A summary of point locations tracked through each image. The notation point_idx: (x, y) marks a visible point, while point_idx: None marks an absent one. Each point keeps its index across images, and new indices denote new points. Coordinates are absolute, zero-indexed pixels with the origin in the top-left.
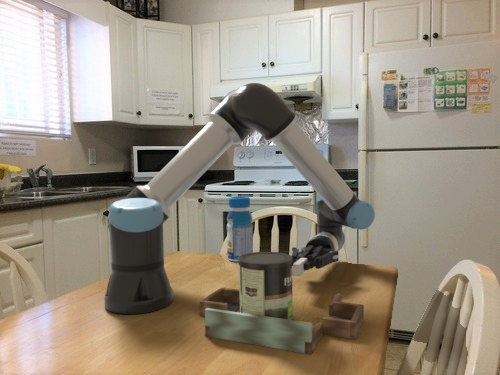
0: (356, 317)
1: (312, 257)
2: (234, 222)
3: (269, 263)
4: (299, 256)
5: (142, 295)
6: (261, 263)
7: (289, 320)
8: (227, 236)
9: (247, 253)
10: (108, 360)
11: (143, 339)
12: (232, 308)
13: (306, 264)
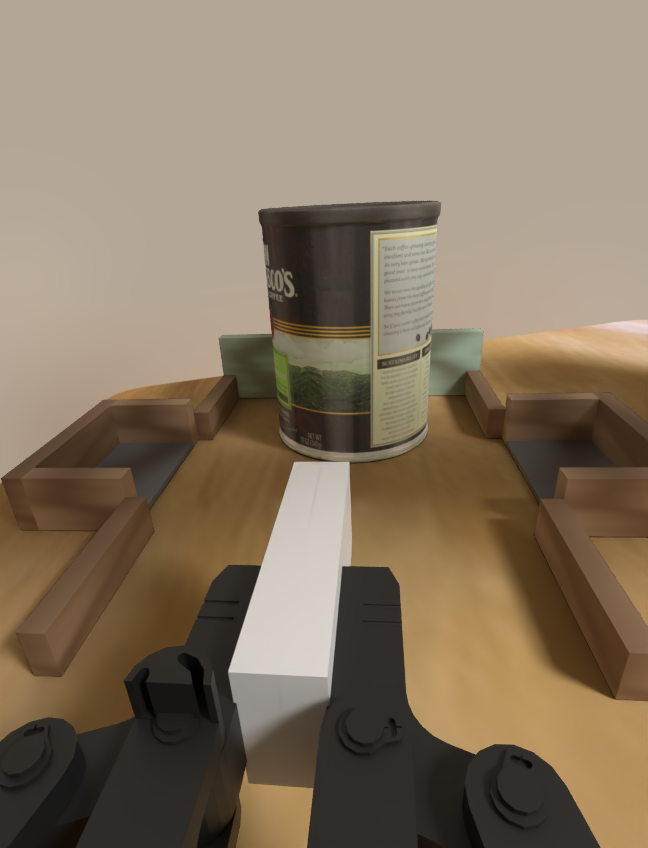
0: (86, 416)
1: (133, 703)
2: None
3: (315, 206)
4: (395, 799)
5: None
6: (336, 205)
7: (268, 335)
8: None
9: (433, 202)
10: (549, 340)
11: (578, 367)
12: (547, 477)
13: (239, 566)
